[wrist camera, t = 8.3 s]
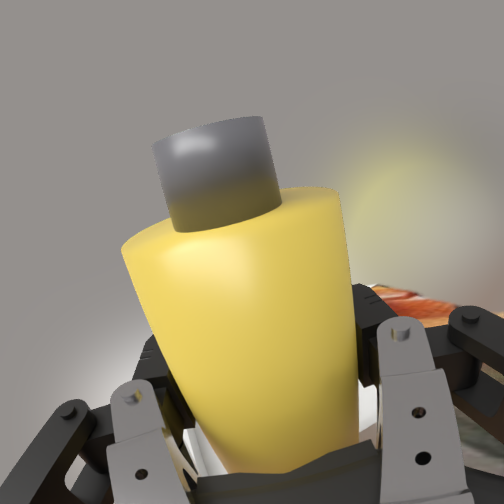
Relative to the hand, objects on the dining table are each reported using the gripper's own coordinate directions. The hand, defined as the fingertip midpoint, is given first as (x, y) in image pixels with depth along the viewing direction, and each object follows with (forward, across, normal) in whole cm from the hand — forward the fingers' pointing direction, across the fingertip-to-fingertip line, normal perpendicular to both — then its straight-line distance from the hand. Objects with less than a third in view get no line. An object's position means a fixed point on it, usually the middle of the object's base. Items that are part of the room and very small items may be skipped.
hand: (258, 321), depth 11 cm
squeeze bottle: (-3, 0, +8) cm, 8 cm away
